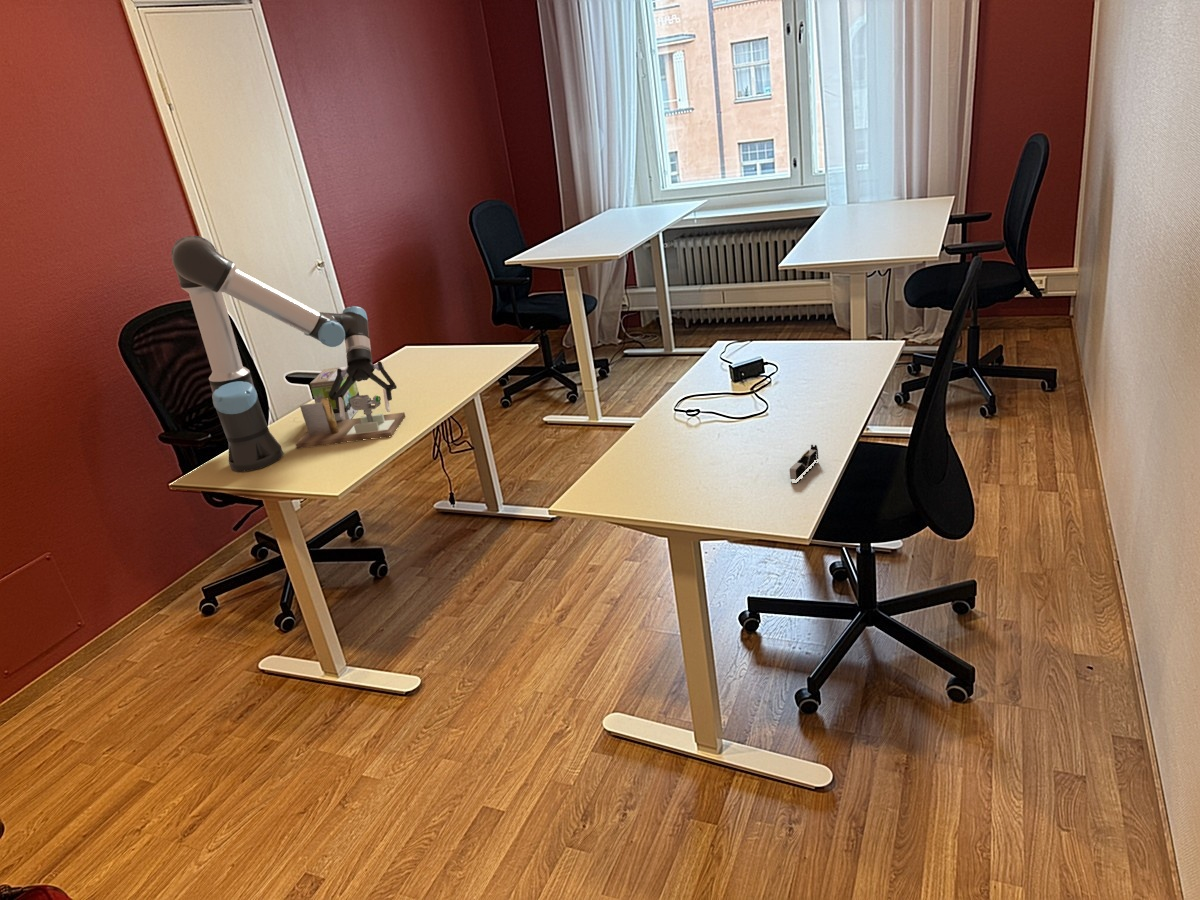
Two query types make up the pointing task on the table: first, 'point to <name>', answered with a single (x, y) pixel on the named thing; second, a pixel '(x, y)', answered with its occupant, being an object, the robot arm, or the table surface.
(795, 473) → the graphics card
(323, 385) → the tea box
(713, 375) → the table surface
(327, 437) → the board
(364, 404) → the mechanical component
